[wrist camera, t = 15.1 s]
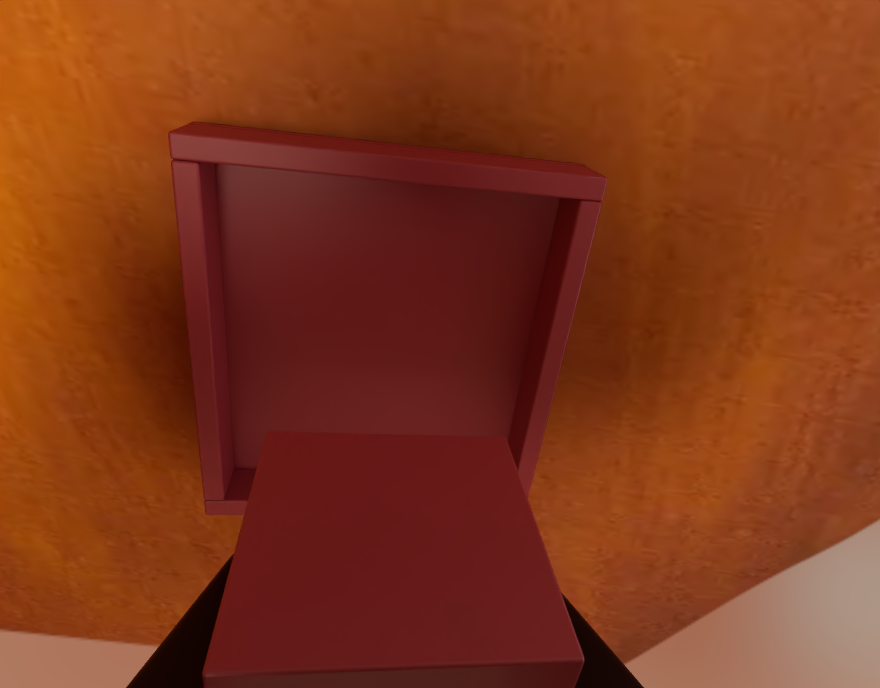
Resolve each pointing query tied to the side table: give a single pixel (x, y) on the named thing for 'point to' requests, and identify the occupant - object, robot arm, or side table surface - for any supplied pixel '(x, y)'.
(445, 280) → the burgundy tray
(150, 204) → the side table surface
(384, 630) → the burgundy block
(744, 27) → the side table surface
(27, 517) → the side table surface
